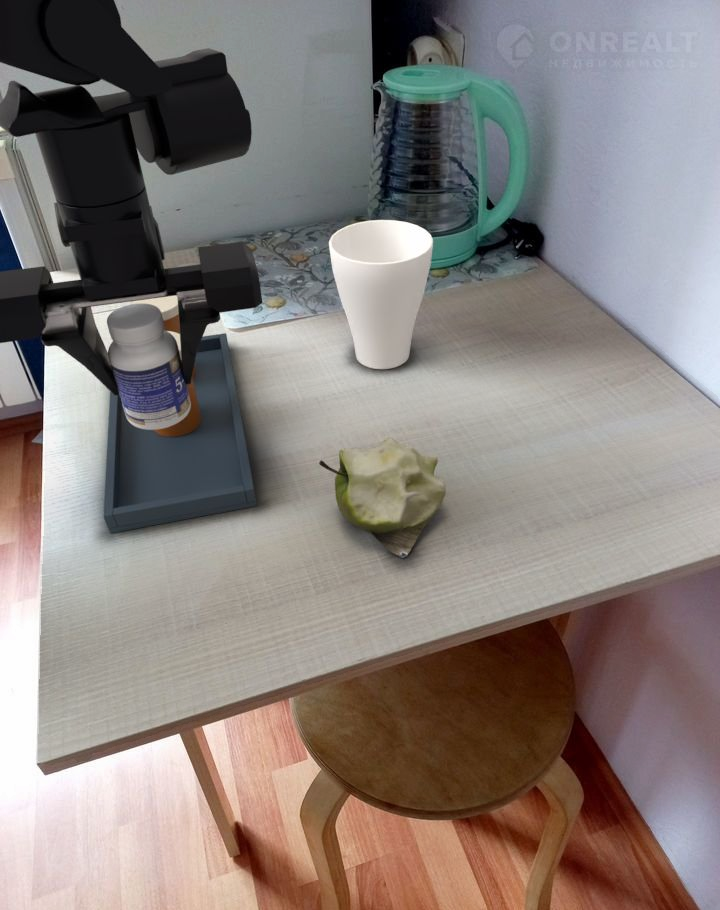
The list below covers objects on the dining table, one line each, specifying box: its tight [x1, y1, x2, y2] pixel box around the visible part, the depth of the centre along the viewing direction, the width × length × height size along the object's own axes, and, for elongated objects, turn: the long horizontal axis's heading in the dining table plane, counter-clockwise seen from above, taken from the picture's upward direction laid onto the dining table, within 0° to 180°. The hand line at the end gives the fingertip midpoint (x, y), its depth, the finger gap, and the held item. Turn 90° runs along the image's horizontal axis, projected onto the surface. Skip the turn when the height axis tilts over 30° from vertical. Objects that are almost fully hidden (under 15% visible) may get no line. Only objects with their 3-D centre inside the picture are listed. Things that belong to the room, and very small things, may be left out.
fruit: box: [318, 436, 447, 559], centre depth 59 cm, size 9×9×8 cm
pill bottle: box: [106, 303, 191, 430], centre depth 55 cm, size 5×5×9 cm
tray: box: [102, 332, 258, 534], centre depth 70 cm, size 13×27×2 cm, turn 13°
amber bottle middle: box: [154, 331, 201, 437], centre depth 67 cm, size 5×5×9 cm
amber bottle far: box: [130, 295, 196, 379], centre depth 74 cm, size 5×5×9 cm
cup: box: [328, 219, 434, 370], centre depth 75 cm, size 10×10×14 cm
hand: (153, 386), depth 56 cm, fingers closed on pill bottle, 5 cm apart
